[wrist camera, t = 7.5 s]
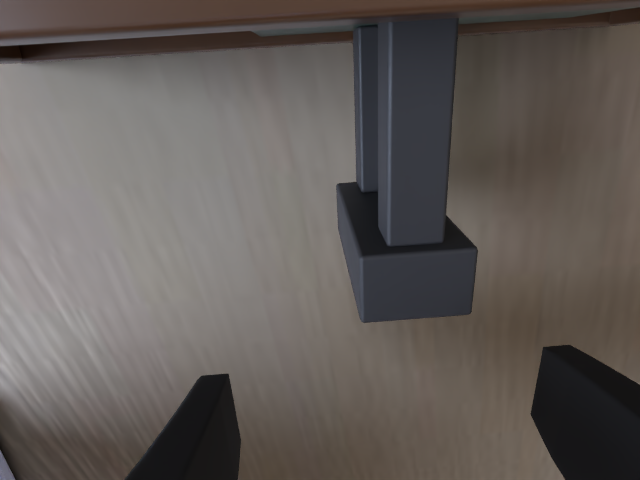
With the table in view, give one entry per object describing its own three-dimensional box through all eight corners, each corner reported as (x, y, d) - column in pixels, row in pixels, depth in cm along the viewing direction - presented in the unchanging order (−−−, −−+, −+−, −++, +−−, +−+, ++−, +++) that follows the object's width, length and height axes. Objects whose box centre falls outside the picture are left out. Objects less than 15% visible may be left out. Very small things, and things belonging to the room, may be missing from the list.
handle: (541, 203, 11) (735, 319, 6) (278, 222, 11) (263, 357, 6) (575, -14, 9) (902, -97, 4) (255, 6, 9) (205, -56, 4)
